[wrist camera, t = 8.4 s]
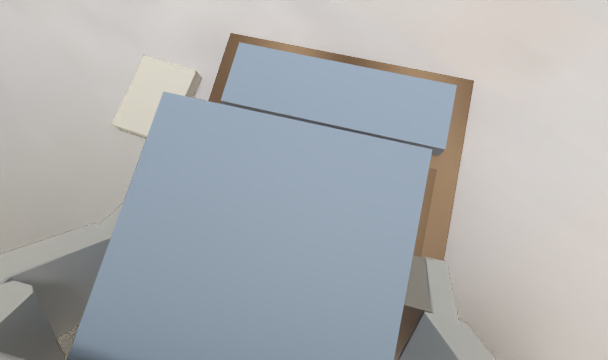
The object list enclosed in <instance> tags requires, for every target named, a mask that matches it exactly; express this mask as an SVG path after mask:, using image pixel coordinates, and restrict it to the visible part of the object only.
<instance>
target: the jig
mask: <svg viewBox="0 0 608 360" xmlns="http://www.w3.org/2000/svg"><path fill="white" fill-rule="evenodd" d="M239 42H241V43H246V44H251V45H256V46H261V47H266V48H271V49H276V50H281V51H286V52H291V53H296V54H301V55H306V56H311V57H316V58H321V59H327V60H332V61H337V62H342V63H347V64H352V65H357V66H362V67H367V68H372V69H377V70H382V71H387V72H392V73H397V74H402V75H407V76H412V77H417V78H423V79H428V80H433V81H438V82H443V83H448V84H453V85H457V88H456V93H455V99H454V104H453V110H452V116H451V121H450V127H449V133H448V138H447V144H446V149H445V150H444V151H443V152H442V153H441V154H440V155H439V156H435V155H431V160H430V166H429V171H428V176H427V182H426V187H425V193H424V198H423V204H422V209H421V215H420V220H419V225H418V231H417V236H416V242H415V247H414V253H413V254H415V255H420V256H422V257H423V256H425V257H430V258H434V259H438V260H443V261H444V256H445V250H446V244H447V238H448V232H449V226H450V220H451V214H452V208H453V202H454V197H455V191H456V185H457V179H458V173H459V167H460V161H461V155H462V149H463V143H464V137H465V131H466V125H467V119H468V113H469V107H470V101H471V95H472V89H473V83H474V81H473V80H468V79H463V78H458V77H452V76H447V75H442V74H437V73H432V72H427V71H422V70H417V69H412V68H406V67H401V66H396V65H391V64H386V63H381V62H376V61H371V60H366V59H360V58H355V57H350V56H345V55H340V54H335V53H330V52H325V51H320V50H314V49H309V48H304V47H299V46H294V45H289V44H284V43H279V42H274V41H268V40H263V39H258V38H253V37H248V36H243V35H238V34H233V33H231V34H230V37H229V40H228V43H227V46H226V49H225V52H224V55H223V58H222V61H221V64H220V67H219V70H218V73H217V76H216V80H215V83H214V86H213V89H212V92H211V95H210V98H209V101H210V102H215V103H219V104H223V103H222V102H221V98H222V95H223V91H224V88H225V85H226V82H227V79H228V76H229V73H230V70H231V67H232V64H233V60H234V57H235V54H236V51H237V48H238V45H239Z"/></svg>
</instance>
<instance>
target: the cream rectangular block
mask: <svg viewBox="0 0 608 360" xmlns="http://www.w3.org/2000/svg"><path fill="white" fill-rule="evenodd" d="M200 81H201V77H200V75H199V74H198V72H197V71H196V70H192V69H189V68H186V67H182V66H179V65H176V64H172V63H169V62H166V61H162V60H159V59H156V58H152V57H149V56H145V55H144V56H143V58H142V60H141V62H140V65H139V67H138V69H137V71H136V73H135V75H134V77H133V79H132V81H131V83H130V86H129V88H128V90H127V92H126V94H125V96H124V98H123V100H122V102H121V104H120V107H119V109H118V111H117V113H116V115H115V117H114V119H113V121H112V123H111V125H113V126H115V127H116V128H118V129H120V130H122V131H126V132H129V133H132V134H135V135H138V136H141V137H144V138H147V136H148V133H149V130H150V127H151V124H152V122H153V119H154V116H155V113H156V111H157V108H158V105H159V102H160V99H161V97H162V94H163V92H168V93H173V94H177V95H182V96H187V97H191V98H193V97H194V94H195V92H196V90H197V88H198V85H199V83H200Z"/></svg>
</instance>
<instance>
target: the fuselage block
mask: <svg viewBox="0 0 608 360" xmlns="http://www.w3.org/2000/svg"><path fill="white" fill-rule="evenodd" d="M431 155H432V149H428V148H424V147H419V146H414V145H410V144H405V143H400V142H396V141H391V140H386V139H382V138H377V137H372V136H368V135H363V134H359V133H354V132H349V131H345V130H340V129H335V128H331V127H326V126H321V125H317V124H312V123H307V122H303V121H298V120H294V119H289V118H284V117H280V116H275V115H270V114H266V113H261V112H256V111H252V110H247V109H242V108H238V107H233V106H229V105H224V104H219V103H215V102H210V101H205V100H201V99H196V98H191V97H187V96H182V95H177V94H173V93H168V92H163V94H162V97H161V99H160V102H159V105H158V108H157V111H156V113H155V116H154V119H153V122H152V124H151V127H150V130H149V133H148V136H147V138H146V141H145V144H144V147H143V150H142V152H141V155H140V158H139V161H138V163H137V166H136V169H135V172H134V175H133V177H132V180H131V183H130V186H129V188H128V191H127V194H126V197H125V200H124V202H123V205H122V208H121V211H120V214H119V216H118V219H117V222H116V225H115V227H114V230H113V233H112V236H111V239H110V241H109V244H108V247H107V250H106V253H105V255H104V258H103V261H102V264H101V266H100V269H99V272H98V275H97V278H96V280H95V283H94V286H93V289H92V291H91V294H90V297H89V300H88V303H87V305H86V308H85V311H84V314H83V317H82V319H81V322H80V325H79V328H78V330H77V333H76V336H75V339H74V342H73V344H72V347H71V350H70V353H69V356H68V358H67V360H394V356H395V351H396V345H397V340H398V334H399V329H400V323H401V318H402V312H403V307H404V302H405V296H406V291H407V285H408V280H409V274H410V269H411V264H412V258H413V253H414V247H415V242H416V236H417V231H418V225H419V220H420V215H421V209H422V204H423V198H424V193H425V187H426V182H427V176H428V171H429V166H430V160H431Z"/></svg>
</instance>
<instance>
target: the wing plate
mask: <svg viewBox="0 0 608 360" xmlns="http://www.w3.org/2000/svg"><path fill="white" fill-rule="evenodd" d="M456 88H457V85H453V84H448V83H443V82H438V81H433V80H428V79H423V78H417V77H412V76H407V75H402V74H397V73H392V72H387V71H382V70H377V69H372V68H367V67H362V66H357V65H352V64H347V63H342V62H337V61H332V60H327V59H321V58H316V57H311V56H306V55H301V54H296V53H291V52H286V51H281V50H276V49H271V48H266V47H261V46H256V45H251V44H246V43H241V42H239V45H238V48H237V51H236V54H235V57H234V60H233V64H232V67H231V70H230V73H229V76H228V79H227V82H226V85H225V88H224V91H223V95H222V98H221V102H222V103H223V104H224V105H229V106H233V107H238V108H242V109H247V110H252V111H256V112H261V113H266V114H270V115H275V116H280V117H284V118H289V119H294V120H298V121H303V122H307V123H312V124H317V125H321V126H326V127H331V128H335V129H340V130H345V131H349V132H354V133H359V134H363V135H368V136H372V137H377V138H382V139H386V140H391V141H396V142H400V143H405V144H410V145H414V146H419V147H424V148H428V149H432V155H435V156H439V155H440V154H441V153H442V152H443V151H444V150H445V149H446V144H447V138H448V133H449V127H450V121H451V116H452V110H453V104H454V99H455V93H456Z"/></svg>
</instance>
